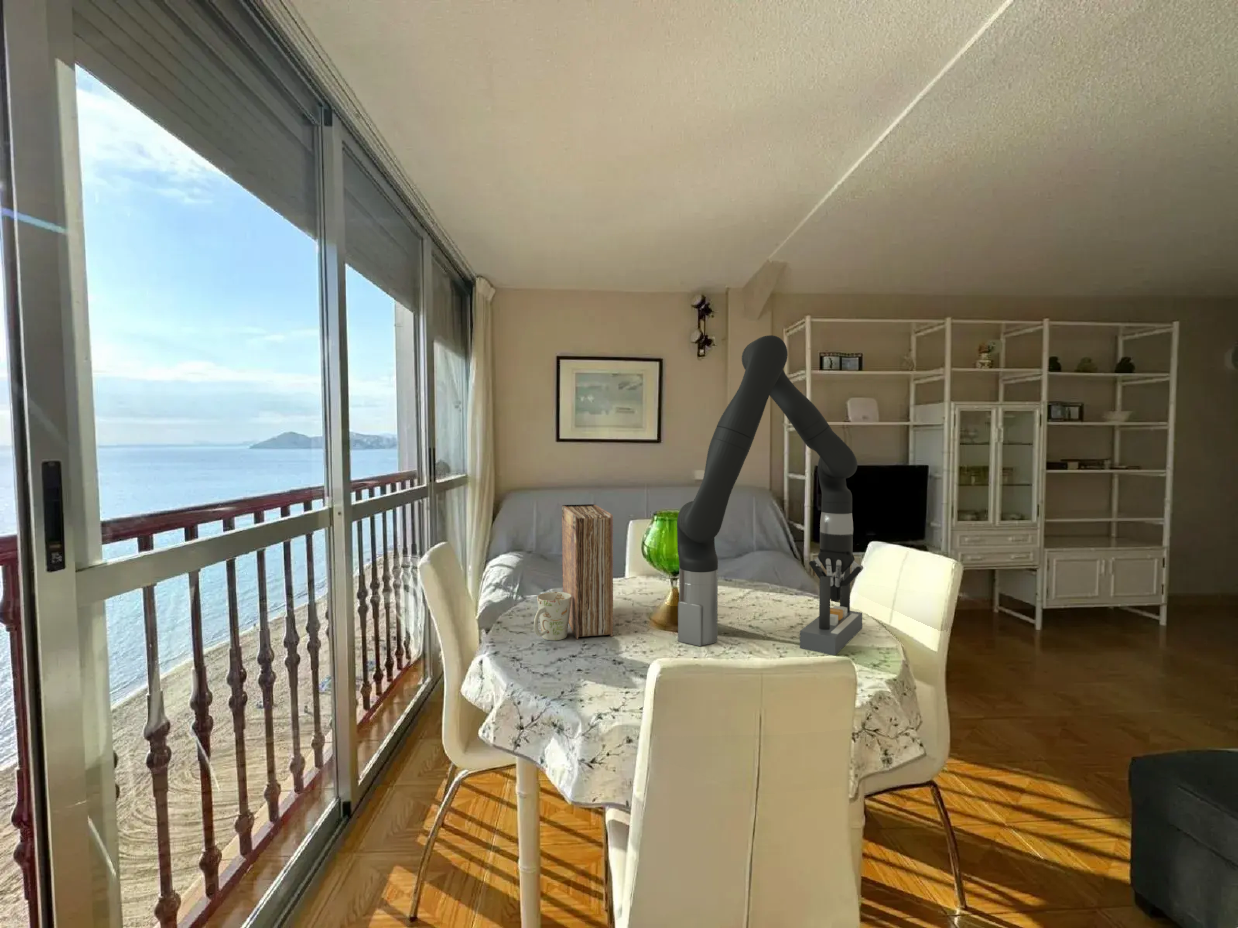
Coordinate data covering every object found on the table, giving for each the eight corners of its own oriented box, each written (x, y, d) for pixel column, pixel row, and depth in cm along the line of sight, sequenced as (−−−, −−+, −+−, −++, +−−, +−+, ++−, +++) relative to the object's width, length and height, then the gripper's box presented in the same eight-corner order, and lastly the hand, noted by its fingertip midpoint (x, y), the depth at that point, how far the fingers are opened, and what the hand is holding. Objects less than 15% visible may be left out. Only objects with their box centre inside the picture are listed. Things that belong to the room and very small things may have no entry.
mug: (577, 633, 148) (577, 594, 147) (551, 650, 136) (550, 607, 136) (549, 629, 151) (548, 590, 151) (520, 644, 140) (520, 602, 139)
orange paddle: (839, 620, 144) (840, 612, 144) (827, 618, 146) (827, 610, 146) (842, 618, 146) (842, 610, 146) (830, 615, 148) (830, 607, 148)
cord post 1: (828, 630, 137) (828, 579, 137) (817, 628, 139) (818, 577, 138) (831, 627, 139) (831, 577, 139) (820, 626, 141) (821, 575, 140)
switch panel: (835, 655, 133) (835, 628, 132) (799, 648, 137) (799, 622, 137) (862, 628, 152) (862, 604, 151) (830, 622, 156) (830, 599, 156)
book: (613, 637, 145) (613, 515, 144) (575, 640, 143) (575, 516, 142) (594, 608, 170) (594, 503, 168) (562, 610, 168) (561, 504, 166)
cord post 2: (848, 613, 151) (848, 566, 151) (838, 611, 153) (839, 565, 152) (850, 610, 153) (851, 564, 153) (841, 609, 154) (841, 563, 154)
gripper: (804, 530, 146) (803, 600, 147) (860, 535, 138) (859, 609, 139) (814, 526, 152) (813, 593, 153) (868, 531, 144) (867, 602, 145)
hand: (835, 601), depth 146 cm, fingers closed
